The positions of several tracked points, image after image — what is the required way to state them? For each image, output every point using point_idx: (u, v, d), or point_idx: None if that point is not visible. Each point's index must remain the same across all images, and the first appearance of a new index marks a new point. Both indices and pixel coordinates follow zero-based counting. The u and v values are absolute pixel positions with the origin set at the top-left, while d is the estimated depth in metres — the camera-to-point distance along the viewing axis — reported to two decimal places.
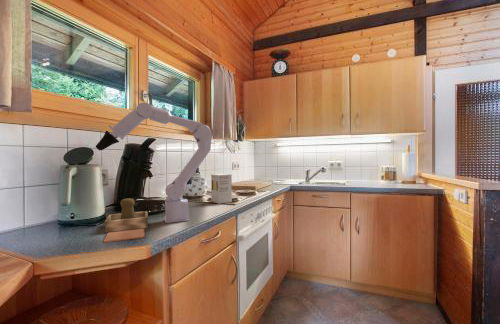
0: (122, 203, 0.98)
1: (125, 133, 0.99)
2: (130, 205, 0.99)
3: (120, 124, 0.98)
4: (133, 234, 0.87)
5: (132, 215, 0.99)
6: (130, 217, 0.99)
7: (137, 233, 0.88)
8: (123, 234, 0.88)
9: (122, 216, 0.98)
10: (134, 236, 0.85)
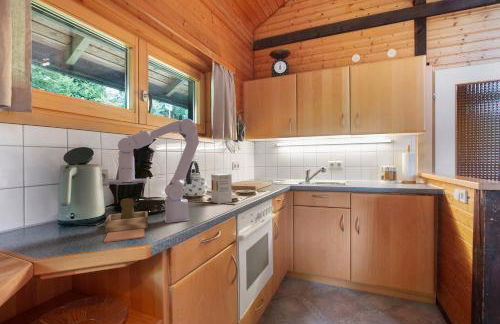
0: (122, 203, 0.98)
1: None
2: (130, 205, 0.99)
3: (133, 172, 1.00)
4: (133, 234, 0.87)
5: (132, 215, 0.99)
6: (130, 217, 0.99)
7: (137, 233, 0.88)
8: (123, 234, 0.88)
9: (122, 216, 0.98)
10: (134, 236, 0.85)
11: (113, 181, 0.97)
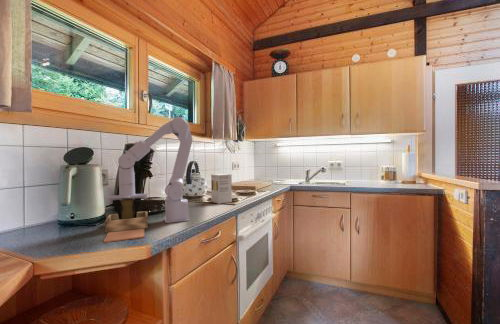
0: (122, 203, 0.98)
1: None
2: (130, 205, 0.99)
3: (133, 187, 1.00)
4: (133, 234, 0.87)
5: (132, 215, 0.99)
6: (130, 217, 0.99)
7: (137, 233, 0.88)
8: (123, 234, 0.88)
9: (122, 216, 0.98)
10: (134, 236, 0.85)
11: (113, 197, 0.97)
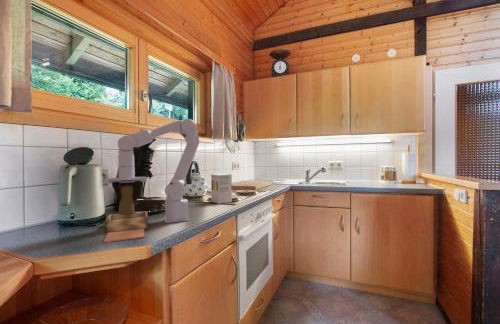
0: (122, 190, 0.98)
1: None
2: (130, 192, 0.99)
3: (133, 170, 1.00)
4: (133, 234, 0.87)
5: (131, 203, 0.99)
6: (129, 204, 0.99)
7: (137, 233, 0.88)
8: (123, 234, 0.88)
9: (121, 203, 0.98)
10: (134, 236, 0.85)
11: (113, 179, 0.97)
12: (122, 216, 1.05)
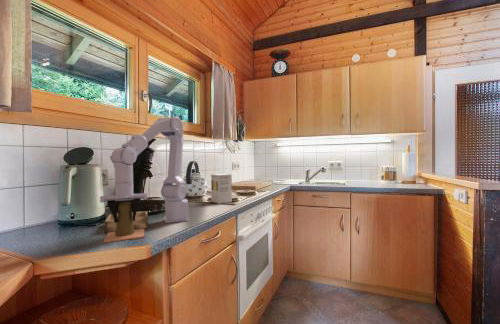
0: (119, 207, 0.86)
1: None
2: (128, 210, 0.87)
3: (131, 186, 0.87)
4: (133, 234, 0.87)
5: (130, 221, 0.88)
6: (128, 223, 0.87)
7: (137, 233, 0.88)
8: None
9: (119, 222, 0.86)
10: (134, 236, 0.85)
11: (108, 197, 0.84)
12: None
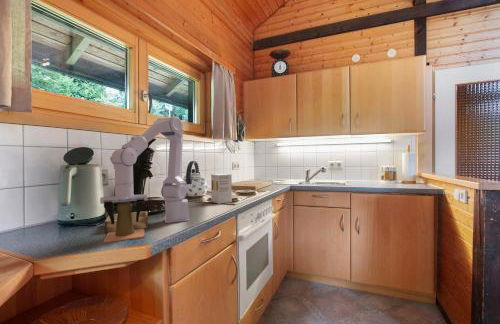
0: (118, 208, 0.86)
1: None
2: (128, 210, 0.87)
3: (131, 187, 0.87)
4: (133, 234, 0.87)
5: (129, 221, 0.88)
6: (128, 223, 0.87)
7: (137, 233, 0.88)
8: None
9: (118, 222, 0.86)
10: (134, 236, 0.85)
11: (109, 198, 0.84)
12: None
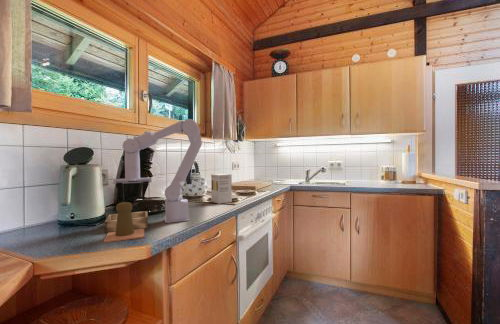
0: (118, 208, 0.86)
1: None
2: (128, 210, 0.87)
3: (138, 171, 1.05)
4: (133, 234, 0.87)
5: (129, 221, 0.88)
6: (128, 223, 0.87)
7: (137, 233, 0.88)
8: None
9: (118, 222, 0.86)
10: (134, 236, 0.85)
11: (120, 180, 1.02)
12: None
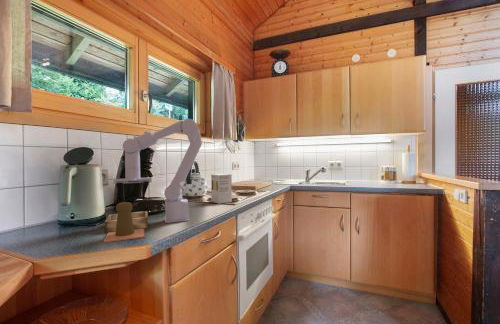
0: (118, 208, 0.86)
1: None
2: (128, 210, 0.87)
3: (138, 171, 1.05)
4: (133, 234, 0.87)
5: (129, 221, 0.88)
6: (128, 223, 0.87)
7: (137, 233, 0.88)
8: None
9: (118, 222, 0.86)
10: (134, 236, 0.85)
11: (120, 180, 1.02)
12: None
